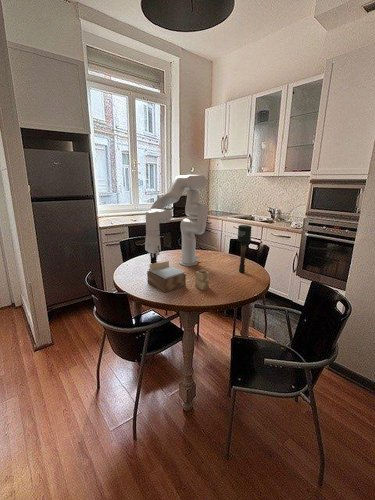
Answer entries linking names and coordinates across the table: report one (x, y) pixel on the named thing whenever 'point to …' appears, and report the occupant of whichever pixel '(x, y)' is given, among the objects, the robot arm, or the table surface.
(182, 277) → the toolbox
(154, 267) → the lid
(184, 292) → the table surface
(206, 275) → the cream upright block
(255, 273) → the table surface
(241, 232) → the potato masher grenade
